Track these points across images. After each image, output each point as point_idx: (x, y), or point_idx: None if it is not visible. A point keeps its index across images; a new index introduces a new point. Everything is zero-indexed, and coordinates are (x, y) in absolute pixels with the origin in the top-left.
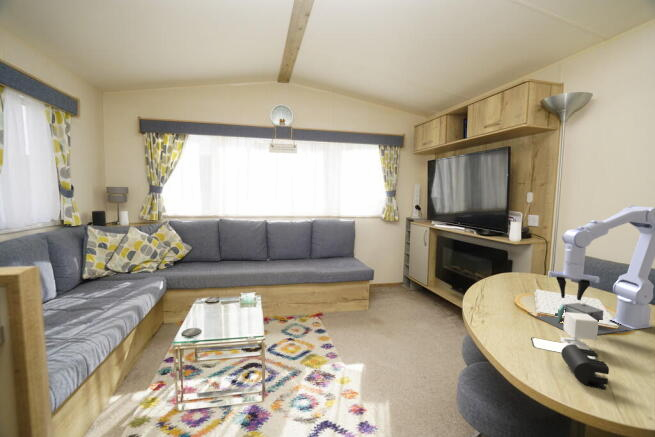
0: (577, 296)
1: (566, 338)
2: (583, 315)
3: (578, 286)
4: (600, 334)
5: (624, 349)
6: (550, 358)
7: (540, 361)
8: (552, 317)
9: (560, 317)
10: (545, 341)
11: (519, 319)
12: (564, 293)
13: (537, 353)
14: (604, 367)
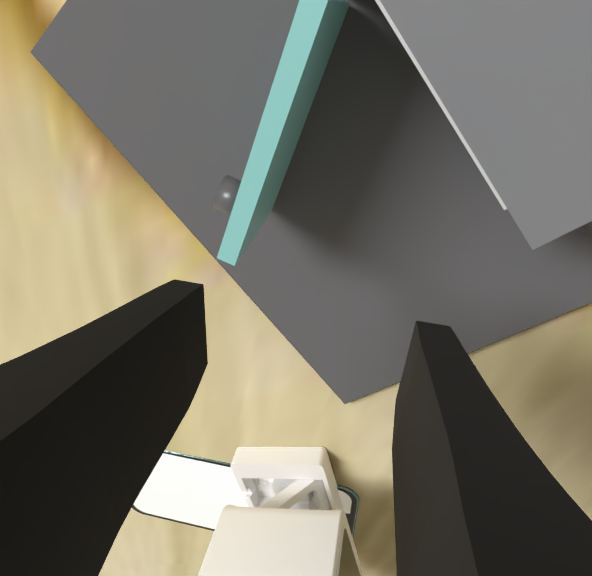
0: (412, 372)
1: (256, 472)
2: None
3: (461, 555)
4: (537, 321)
5: (559, 473)
6: (184, 559)
7: (155, 572)
8: (238, 79)
9: (281, 175)
10: (172, 465)
11: (16, 230)
12: (161, 446)
13: (145, 540)
14: None
